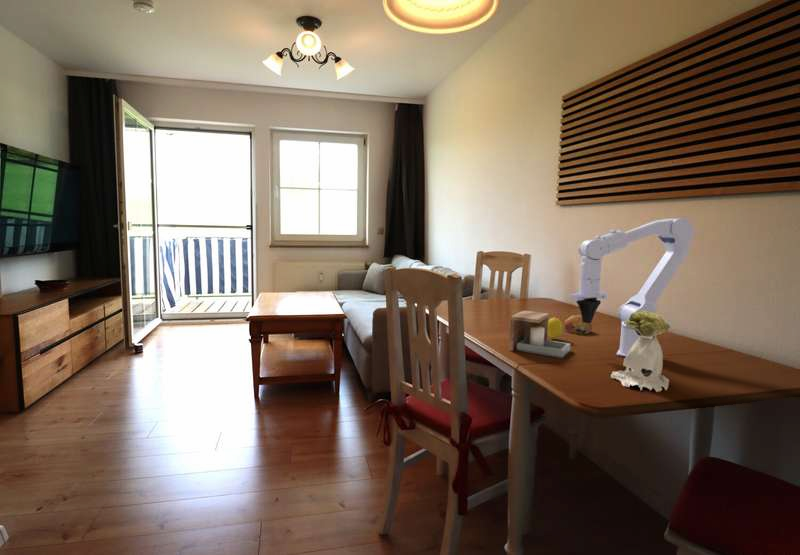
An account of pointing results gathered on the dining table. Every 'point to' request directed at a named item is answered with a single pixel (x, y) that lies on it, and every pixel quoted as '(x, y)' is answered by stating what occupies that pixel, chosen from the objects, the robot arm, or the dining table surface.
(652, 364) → the potted plant vase
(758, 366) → the dining table surface
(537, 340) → the beige rounded lump
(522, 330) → the counter shelf
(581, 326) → the bread roll
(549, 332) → the lemon
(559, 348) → the tray
